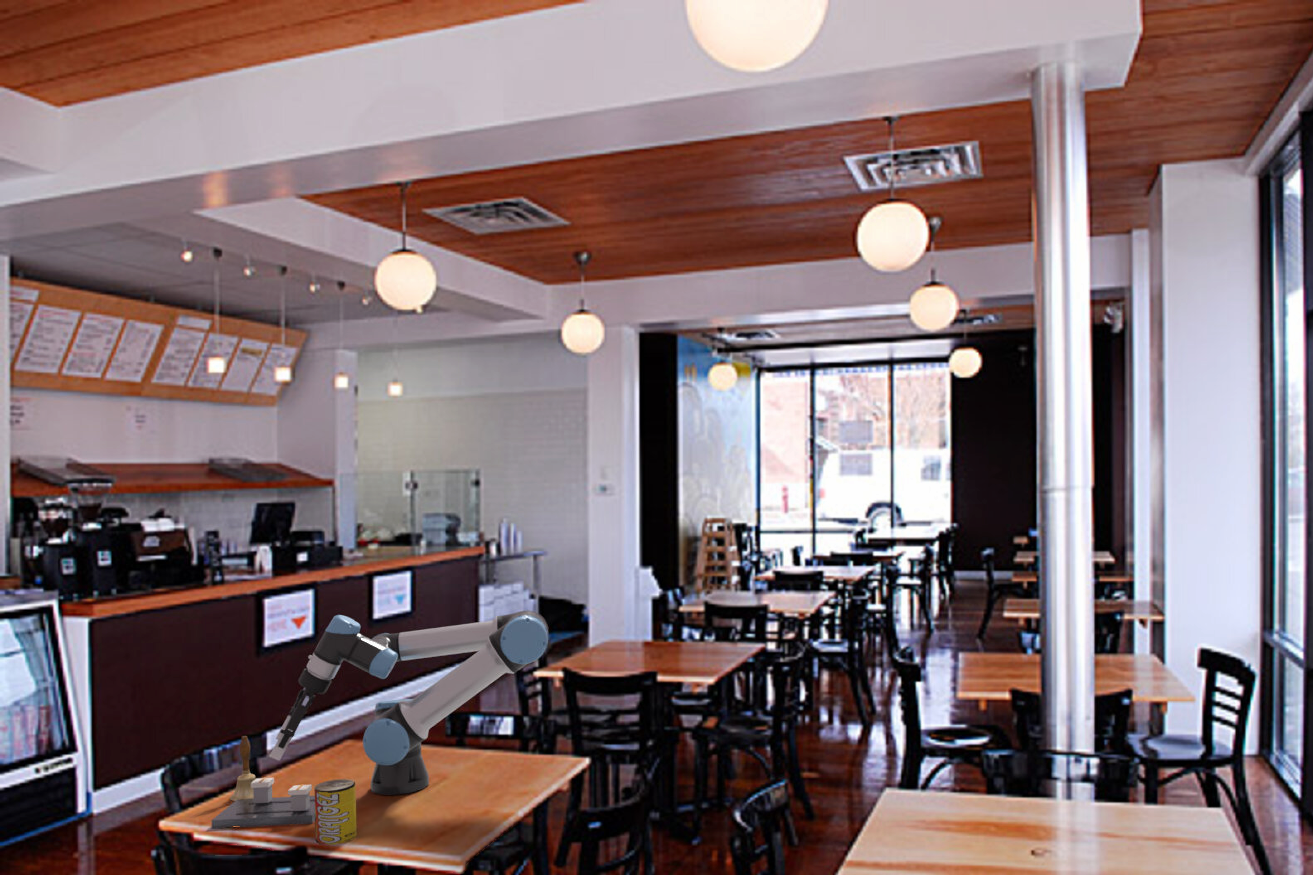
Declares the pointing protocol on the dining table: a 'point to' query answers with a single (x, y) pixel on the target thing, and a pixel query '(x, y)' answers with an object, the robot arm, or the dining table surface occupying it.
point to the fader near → (300, 797)
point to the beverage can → (335, 811)
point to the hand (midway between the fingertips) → (277, 749)
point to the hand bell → (244, 774)
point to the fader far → (262, 790)
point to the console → (263, 813)
